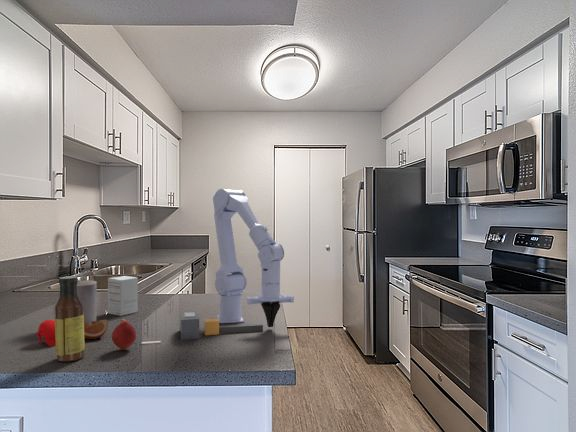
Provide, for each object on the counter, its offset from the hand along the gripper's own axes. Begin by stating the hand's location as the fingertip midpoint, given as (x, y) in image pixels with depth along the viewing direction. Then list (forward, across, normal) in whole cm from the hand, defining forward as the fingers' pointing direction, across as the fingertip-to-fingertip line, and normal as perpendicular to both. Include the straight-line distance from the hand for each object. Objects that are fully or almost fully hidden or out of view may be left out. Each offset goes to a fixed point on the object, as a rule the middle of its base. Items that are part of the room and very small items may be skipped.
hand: (270, 326), depth 131 cm
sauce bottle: (+1, -54, -15) cm, 56 cm away
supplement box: (+1, -46, +33) cm, 57 cm away
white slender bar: (+1, -35, -6) cm, 36 cm away
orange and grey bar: (+1, -11, 0) cm, 11 cm away
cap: (+1, -62, 0) cm, 62 cm away
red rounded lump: (+1, -42, -11) cm, 43 cm away
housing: (+1, -24, 0) cm, 25 cm away
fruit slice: (+1, -52, +2) cm, 52 cm away
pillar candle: (+1, -58, +17) cm, 60 cm away
